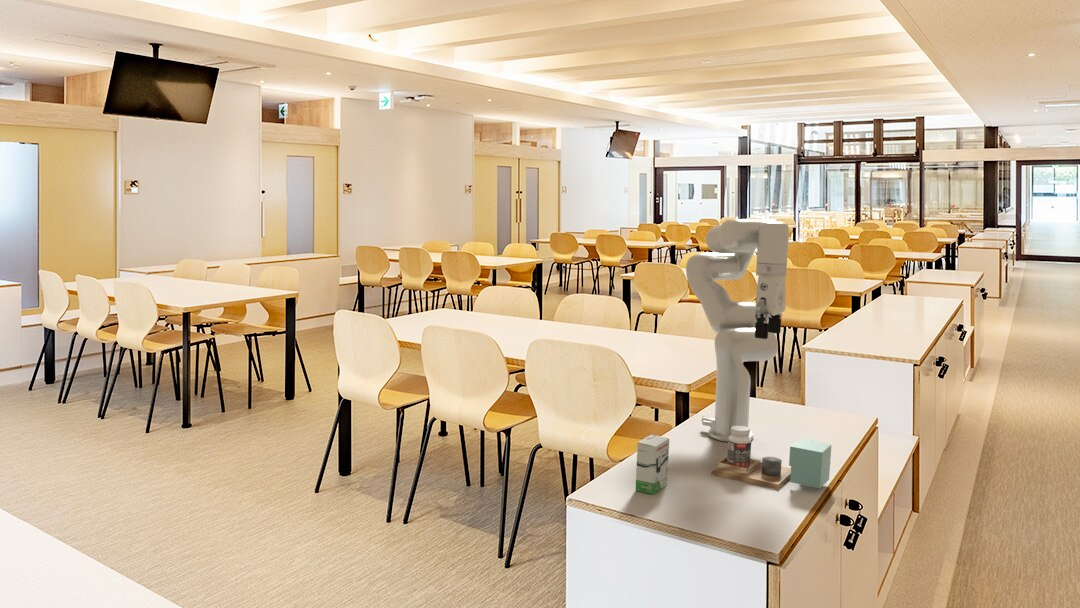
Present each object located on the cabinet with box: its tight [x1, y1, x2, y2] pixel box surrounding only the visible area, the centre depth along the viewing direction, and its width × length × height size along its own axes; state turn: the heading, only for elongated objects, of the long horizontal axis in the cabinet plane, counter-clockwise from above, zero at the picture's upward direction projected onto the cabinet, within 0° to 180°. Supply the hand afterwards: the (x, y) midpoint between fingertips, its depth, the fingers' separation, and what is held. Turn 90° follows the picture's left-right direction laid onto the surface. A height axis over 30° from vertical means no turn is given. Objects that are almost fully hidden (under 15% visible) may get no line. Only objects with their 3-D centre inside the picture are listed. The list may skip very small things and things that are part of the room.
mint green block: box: [788, 438, 832, 489], centre depth 201 cm, size 8×8×9 cm
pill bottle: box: [726, 426, 752, 468], centre depth 211 cm, size 6×6×10 cm
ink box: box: [635, 434, 670, 495], centre depth 198 cm, size 9×5×12 cm, turn 148°
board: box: [710, 455, 791, 490], centre depth 209 cm, size 17×13×5 cm
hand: (767, 335), depth 216 cm, fingers open, 9 cm apart
